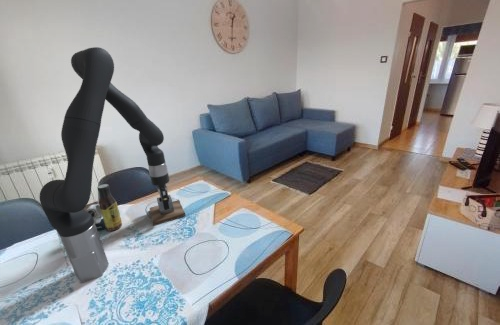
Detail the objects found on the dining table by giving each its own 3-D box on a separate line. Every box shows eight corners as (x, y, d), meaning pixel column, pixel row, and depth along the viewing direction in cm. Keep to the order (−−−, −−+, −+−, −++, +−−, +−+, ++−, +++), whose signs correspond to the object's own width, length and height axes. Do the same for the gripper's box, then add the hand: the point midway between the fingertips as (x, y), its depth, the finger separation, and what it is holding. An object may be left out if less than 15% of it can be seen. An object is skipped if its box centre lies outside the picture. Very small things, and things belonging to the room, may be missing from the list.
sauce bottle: (117, 231, 98) (104, 189, 91) (103, 232, 98) (89, 190, 91) (125, 222, 104) (114, 182, 97) (112, 222, 105) (99, 183, 97)
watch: (88, 234, 97) (80, 212, 93) (97, 223, 105) (90, 202, 101) (102, 232, 98) (94, 210, 94) (110, 221, 105) (103, 200, 102)
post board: (185, 215, 107) (182, 201, 104) (153, 225, 101) (149, 210, 98) (179, 202, 118) (176, 189, 116) (150, 210, 113) (146, 196, 110)
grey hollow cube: (174, 211, 108) (171, 199, 106) (160, 215, 105) (158, 203, 103) (172, 205, 113) (169, 194, 111) (159, 209, 110) (156, 198, 108)
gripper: (170, 176, 98) (176, 210, 104) (165, 166, 110) (171, 196, 116) (151, 180, 95) (159, 215, 101) (148, 169, 107) (155, 201, 113)
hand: (165, 205), depth 108 cm, fingers open, 6 cm apart
